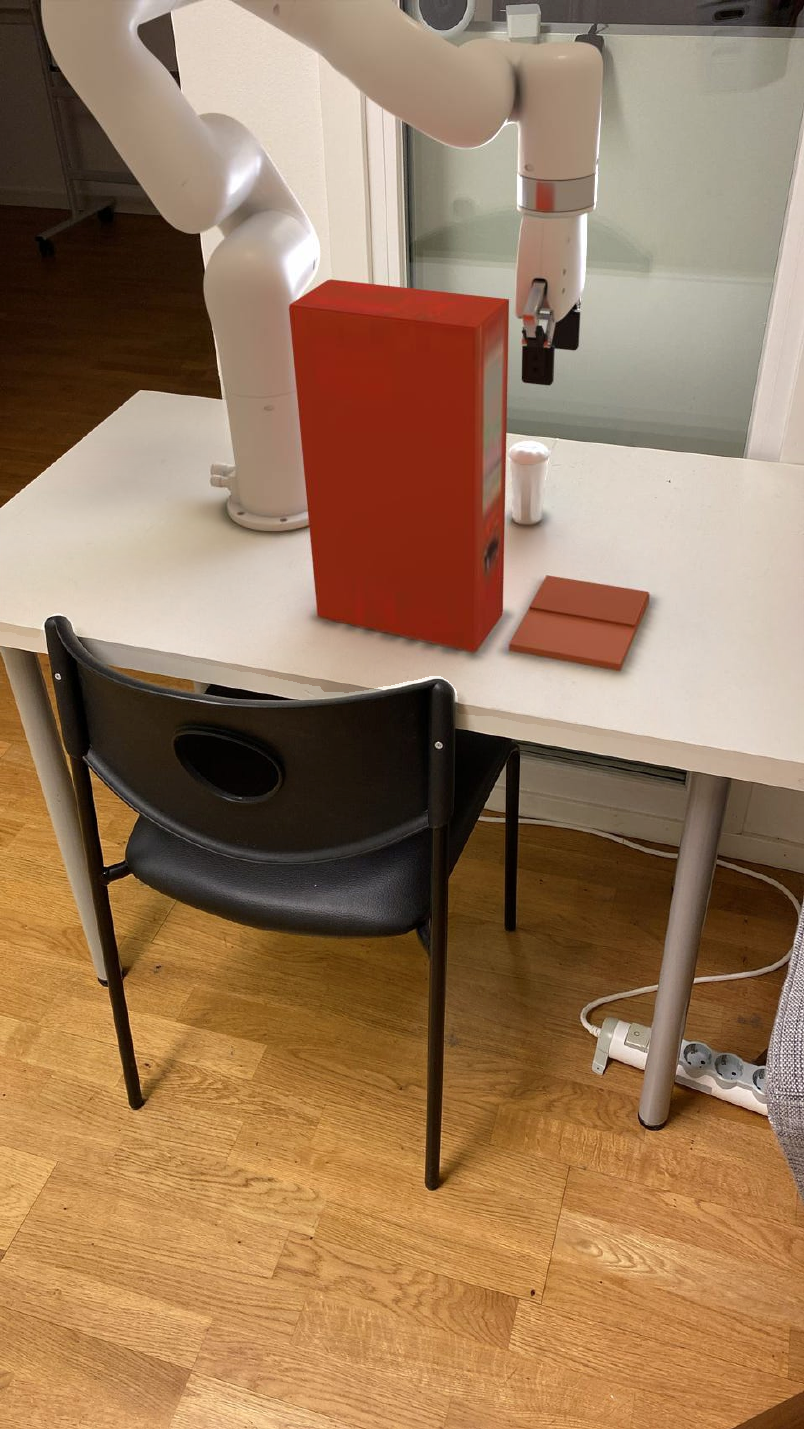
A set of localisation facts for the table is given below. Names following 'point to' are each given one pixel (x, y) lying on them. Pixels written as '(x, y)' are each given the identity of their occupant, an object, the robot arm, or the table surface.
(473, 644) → the file binder
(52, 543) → the table surface
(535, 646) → the cloth
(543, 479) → the milkshake
